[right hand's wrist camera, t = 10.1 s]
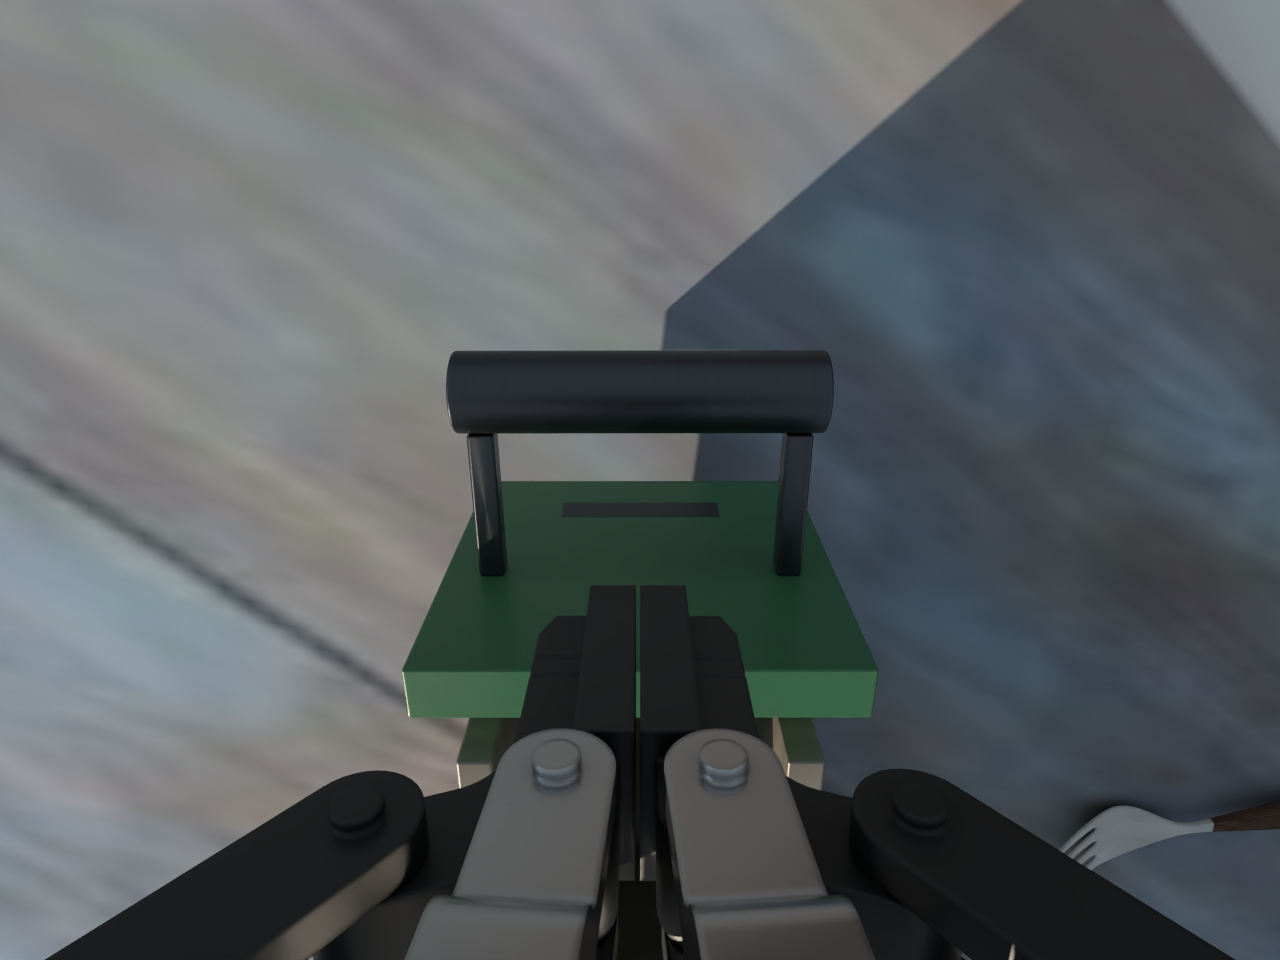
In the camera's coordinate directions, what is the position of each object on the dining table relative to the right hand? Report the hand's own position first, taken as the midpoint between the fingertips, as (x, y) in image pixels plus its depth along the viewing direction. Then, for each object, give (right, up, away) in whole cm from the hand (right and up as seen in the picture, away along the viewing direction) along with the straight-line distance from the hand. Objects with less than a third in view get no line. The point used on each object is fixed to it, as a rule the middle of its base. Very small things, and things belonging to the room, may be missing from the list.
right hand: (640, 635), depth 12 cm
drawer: (0, -2, +13) cm, 14 cm away
